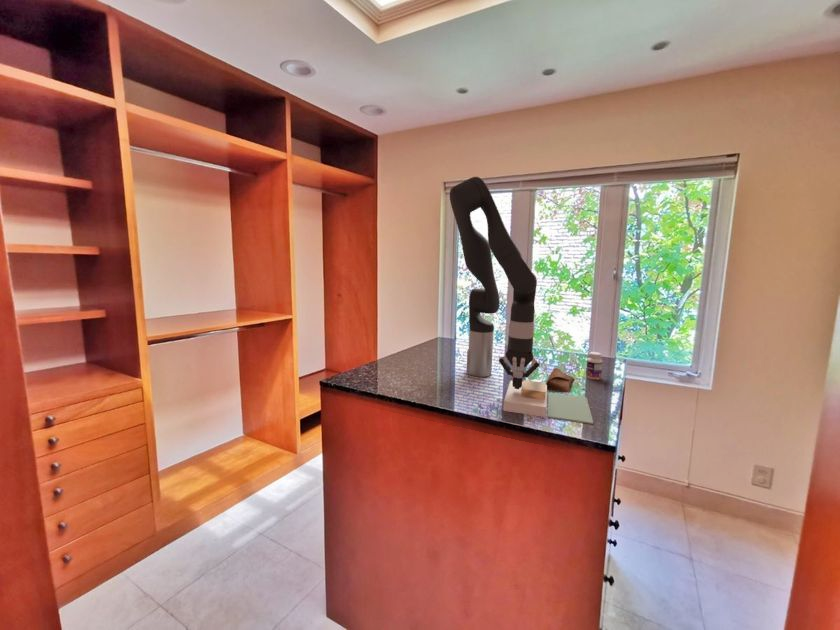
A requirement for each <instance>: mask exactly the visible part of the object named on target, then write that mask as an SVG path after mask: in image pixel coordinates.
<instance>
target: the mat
mask: <svg viewBox="0 0 840 630" xmlns="http://www.w3.org/2000/svg"><path fill="white" fill-rule="evenodd" d="M591 412H592V411H591V409H590V405H589V402H588V398H587V397H585V396H580V395H572V394H571V395H569V394H561V393H554V392H547V418H551V419H557V420H562V421H563V420H564V421H571V422H576V423H581V424H583V423H584V424H590V425H593V424H594V420H593V416H592V413H591Z"/></svg>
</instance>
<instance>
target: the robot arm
mask: <svg viewBox="0 0 840 630" xmlns="http://www.w3.org/2000/svg"><path fill="white" fill-rule="evenodd" d="M449 201H450V206H451V211H452V212H453V213H452V214H453V215H454V219H455V222H456V226H457V230H458V232H459V233H458V234H459V237H460V242H461V243H460V244H461V247H462V253H463V258H464V259H463V260H464V262H465V266H466V268H467V269H468V271H469V273H471V274H472V275H473V276H474V278H476V279H477V280H478V282H479V283H481V284H480V285H482V286H483V288H479V287H478V288H477V287H475V288H473V289H471V290H470V294H469V296H468V317H469V318H468V324H469V325H468V326H469V330H468V331H469V332H468V334H469V335H468V349H467V351H466V353H467V354H466V373H465V374H466V375H470V376H473V377H480V378H483V377H489V376H491V375H492V372H493V371H492V370H493V368H492V367H493V349H494V332H495V331H494V329H495V325H494V323H493V322H491V321H489V320H487V319H486V318H484V317H483V316H482V315H481V314H490V315H491V314H495V313H497V312H498V310H499V309H500V295H499V290H498V287H497V283H496V282H497V281H496V277H495V273H494V266H493V256H494V258H495V259H496V261H497V263H498V264H499V266H500V267H501V268H502V269H503V271H504V274H505V276H506V278H507V280H508V282H509V283H510V285H511V287H512V289H513V296H512V303H511V307H510V317H509V318H510V320H509V325H508V334H507V335H508V337H507V350H506V353H505V354H504V355H503V356H500V357H499V358H498V362H499V364H500V365H501V366H502V368H503V370H504V371H505V373H507V375H508V376H511V377H512V381H513V387H515V388H514V389H519V388H521V387H522V382H523V378H529V376H530V375H531V374H532V373H534V371H536V369H538V367H540V364H541V363H540V361H538V360H536V359H535V358H534V356H535V355H534V354H533V349H534V348H533V347H534V335H535V323H534V321H535V301H536V292H537V286H538V279H537V276H536V275H535V273H534V272H533V271H532V270H531V269H530V268H529V266H528V264H527V263H526V261H525V260H524V259H523V256H522V253H521V251H520V250H519V247H517V244H515V242H514V240H513V239H512V237H511V235H510V233H509V232H508V229H507V228H506V226H505V224H504V221H503V219H502V217H501V214H500V212H499V209H498V207H497V204H496V203H495V202H496V201H495V200H494V198H493V196H492V194H491V190H490V189H489V187H488V185H487V183H485V181H484V180H483V179H482V178H481V177H479V176H472V177H471V178H468V179H466V180H464V181H461V182H460V183H458V184H456V185H454V186H453V187H452V188H451V189H450V191H449ZM478 209H481V211H482V212H483V214H484V216H485V219H486V224H487V238H486V236H484V235H483V234H482V233H481V232H480V231H478V230H477V229H476V227H474V224H473V223H472V219H471V213H472V212H475V211H476V210H478ZM492 254H493V256H492ZM508 363H509V364H510V365H511V366H512V369H511V367H510V366H509V364H508ZM530 363H531V364H530ZM529 364H530V366H529ZM527 366H529V368H528V369H527V370H526V371H524V370H525V368H526V367H527ZM518 367H519V368H518Z"/></svg>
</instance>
